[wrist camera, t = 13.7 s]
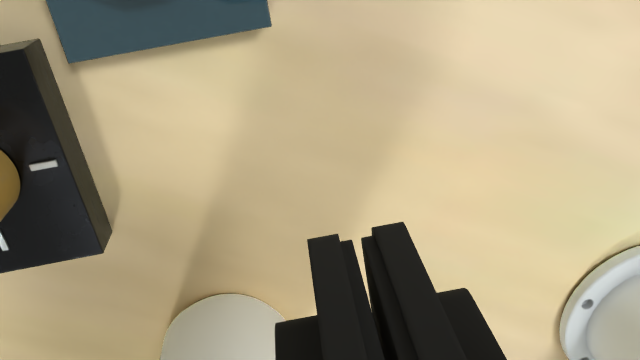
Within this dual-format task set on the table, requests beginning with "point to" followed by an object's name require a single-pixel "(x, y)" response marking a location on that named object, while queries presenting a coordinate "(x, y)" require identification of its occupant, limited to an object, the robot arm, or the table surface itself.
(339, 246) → the robot arm
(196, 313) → the alcohol
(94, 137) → the table surface
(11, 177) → the dial
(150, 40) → the push button box
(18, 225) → the dial plate
